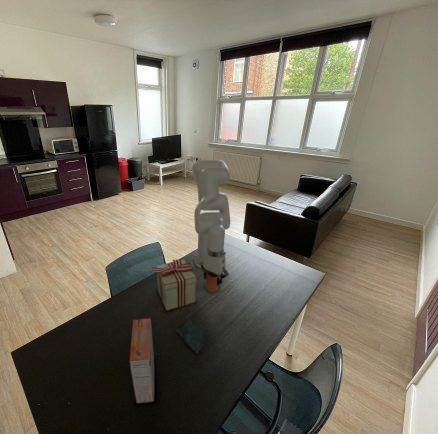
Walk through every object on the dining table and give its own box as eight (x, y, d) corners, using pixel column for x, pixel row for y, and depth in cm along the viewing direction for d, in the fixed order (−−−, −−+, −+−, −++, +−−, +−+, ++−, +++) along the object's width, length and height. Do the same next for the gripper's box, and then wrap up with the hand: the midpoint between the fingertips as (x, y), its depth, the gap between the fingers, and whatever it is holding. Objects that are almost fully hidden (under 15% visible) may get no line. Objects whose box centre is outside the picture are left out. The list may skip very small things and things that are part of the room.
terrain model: (211, 342, 92) (211, 338, 91) (196, 354, 88) (196, 351, 87) (188, 321, 101) (188, 318, 100) (174, 331, 97) (174, 328, 96)
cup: (202, 287, 119) (203, 273, 115) (209, 280, 124) (210, 266, 120) (214, 294, 115) (215, 279, 111) (221, 286, 120) (222, 272, 116)
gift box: (180, 278, 126) (180, 250, 119) (198, 301, 111) (199, 272, 104) (150, 288, 120) (148, 259, 112) (164, 314, 104) (163, 283, 97)
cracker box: (137, 360, 86) (132, 318, 77) (154, 359, 86) (151, 317, 77) (134, 404, 73) (128, 360, 64) (154, 402, 73) (150, 358, 64)
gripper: (235, 253, 108) (232, 284, 116) (203, 241, 117) (201, 270, 125) (228, 261, 103) (224, 293, 110) (194, 248, 112) (193, 277, 120)
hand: (212, 280), depth 118 cm, fingers closed on cup, 6 cm apart
